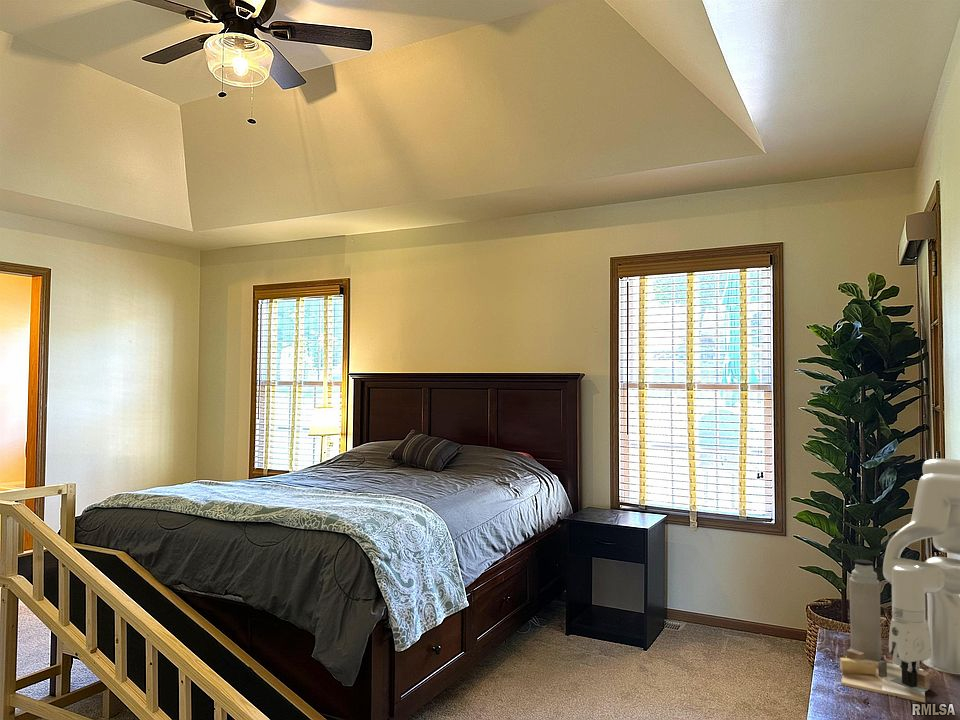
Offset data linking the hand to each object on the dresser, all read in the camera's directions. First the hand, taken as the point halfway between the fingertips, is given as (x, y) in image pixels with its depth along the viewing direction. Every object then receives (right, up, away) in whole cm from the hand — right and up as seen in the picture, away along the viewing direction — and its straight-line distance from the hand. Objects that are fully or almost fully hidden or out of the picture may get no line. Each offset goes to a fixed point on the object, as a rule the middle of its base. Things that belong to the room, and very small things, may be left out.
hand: (909, 684), depth 183 cm
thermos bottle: (+2, -3, +25) cm, 25 cm away
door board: (-2, -3, +8) cm, 9 cm away
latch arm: (-8, -1, +9) cm, 13 cm away
